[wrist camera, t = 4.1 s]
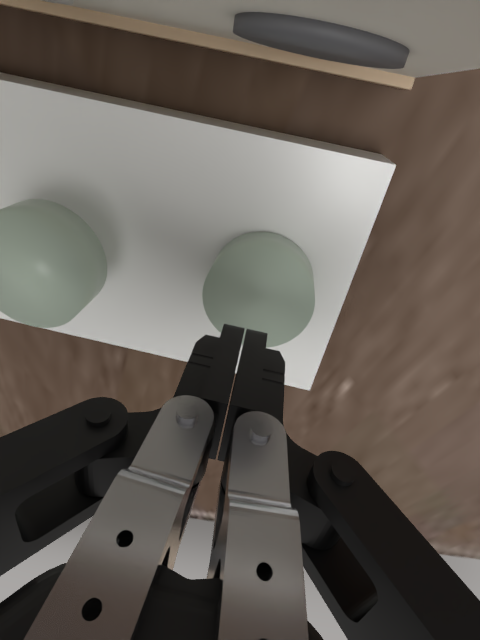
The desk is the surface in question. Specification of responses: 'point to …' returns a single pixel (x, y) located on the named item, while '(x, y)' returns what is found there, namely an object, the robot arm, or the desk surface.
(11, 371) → the desk surface
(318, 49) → the pattern card
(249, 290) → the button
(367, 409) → the desk surface
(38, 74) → the desk surface
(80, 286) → the button middle
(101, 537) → the robot arm
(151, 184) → the button panel
